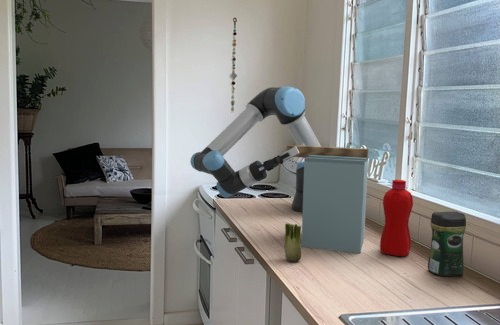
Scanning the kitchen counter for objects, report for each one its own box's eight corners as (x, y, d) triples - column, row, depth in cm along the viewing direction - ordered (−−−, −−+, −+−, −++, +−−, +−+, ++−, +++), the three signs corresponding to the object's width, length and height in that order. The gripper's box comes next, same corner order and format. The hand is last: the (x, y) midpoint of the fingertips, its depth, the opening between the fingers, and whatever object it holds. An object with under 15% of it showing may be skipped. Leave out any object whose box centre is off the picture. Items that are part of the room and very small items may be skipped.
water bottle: (412, 250, 161) (417, 178, 158) (405, 258, 152) (410, 183, 148) (386, 245, 166) (390, 176, 163) (377, 253, 156) (381, 180, 153)
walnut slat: (286, 156, 172) (286, 145, 172) (289, 155, 176) (289, 145, 176) (367, 160, 164) (367, 149, 163) (367, 159, 167) (368, 148, 167)
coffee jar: (450, 267, 145) (455, 208, 142) (467, 276, 137) (472, 214, 135) (422, 268, 143) (426, 209, 140) (438, 278, 135) (442, 215, 133)
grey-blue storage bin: (310, 233, 179) (313, 152, 176) (364, 239, 173) (368, 155, 170) (301, 246, 162) (304, 157, 159) (360, 253, 156) (364, 161, 153)
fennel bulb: (282, 258, 150) (283, 222, 148) (295, 257, 151) (297, 221, 150) (289, 264, 144) (291, 226, 143) (304, 262, 146) (305, 225, 144)
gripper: (267, 177, 191) (312, 153, 184) (247, 187, 167) (299, 160, 160) (258, 161, 191) (303, 137, 184) (238, 168, 168) (288, 141, 161)
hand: (301, 147), depth 172 cm, fingers open, 13 cm apart
